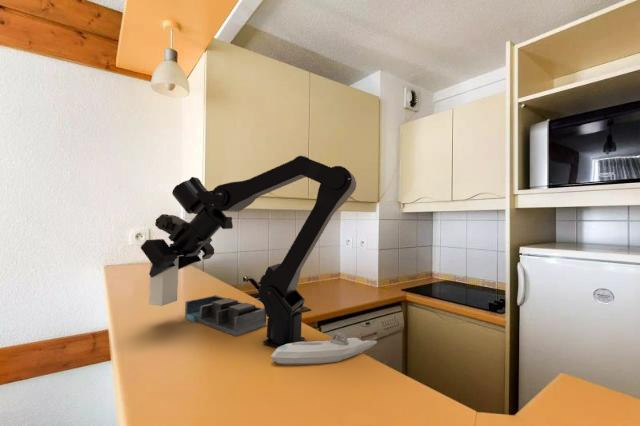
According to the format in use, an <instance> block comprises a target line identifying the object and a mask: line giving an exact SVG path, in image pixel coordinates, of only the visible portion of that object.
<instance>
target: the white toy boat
mask: <svg viewBox="0 0 640 426" xmlns="http://www.w3.org/2000/svg"><path fill="white" fill-rule="evenodd" d="M337 336H340V337H342V338H337ZM377 343H378V341H377V340H361V339H360V338H358V337H346V335H345V334H344V333H343V332H336V333H334V334H333V335H332V338H331V339H330V340H317V341H315V340H312V341H303V342H295V343H289V344H285V345H283V346H280V347H276V349H275V350H274V351H273V352H272V354H271V355H270V357H271V358H272V360H273V362H275V363H277V364H280V365H284V366H286V365H287V366H288V365H319V364H329V363H337V362H341V361H343V360H346V359H349V358H352V357H354V356H358V355H360V354H361V353H363V352H366V351H367V350H369V349H371V348H373V347H374V346H375V345H376V344H377ZM359 352H360V353H359Z"/></svg>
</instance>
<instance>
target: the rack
mask: <svg viewBox="0 0 640 426" xmlns="http://www.w3.org/2000/svg"><path fill="white" fill-rule="evenodd" d="M184 307H185V309H184V310H185V311H184V318H186V320H187V321H190V322H191V323H198V324H202V325H205V326H208V327H210V328H212V329H216V330H218V331H221V332H223V333H226V334H228V335H230V336H231V335H232V336H234V337H238V336H241V335H243V334H246V333H250V332H253V331H256V330H258V329H261V328H264V327H267V315H266V311H265V308H264V307H260V306H256V305H255V304H252V303H249V302H242V301H239V300H238V299H234V298H231V297H228V298H227V297H223V296H219V295H216V294H214V295H211V296H205V297H200V298H196V299H191V300H185V306H184Z"/></svg>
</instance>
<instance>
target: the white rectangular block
mask: <svg viewBox="0 0 640 426" xmlns="http://www.w3.org/2000/svg"><path fill="white" fill-rule="evenodd" d="M173 263H174V264H175V266H174V267H172V268H170V269H168V270H166V271H164V272H162V273H160V274H158V275H156V276H154V277H151V276H150V275H149V292H148V294H149V296H148V305H150V306H159V307H163V306H166V305H168V304H172V303H175V302H178V293H179V292H178V291H179V290H178V288H179V287H178V286H179V283H178V282H179V270H178V263H179V256H178V257H177V259H176V260H175V261H174V262H173ZM149 264H150V265H149V266H150V267H149V271H150V270H151V267H152V263H151V262H150V263H149Z"/></svg>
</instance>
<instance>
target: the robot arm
mask: <svg viewBox="0 0 640 426" xmlns="http://www.w3.org/2000/svg"><path fill="white" fill-rule="evenodd" d="M305 178H308V179H310V180H311V181H315V182H317V183H319V187H318V189H317V193H316V200H315V204H314V206H313V208H312V209H311V211H310V213H309V215H308V216H307V217H306V220H305V222H304V223H303V225H302V226H301V229H300V230H299V232H298V234H297V236H296V237H295V239H294V241H293V243H292V244H291V246H290V248H289V249H288V251H287V253H286V255H285V257H284V258H283V260H282V262H281V263H276V264H274V265H271V266H268V267H267V269H266V271H265V272H264V275H263V277H262V279H261V280H260V281H259V282H258V283H257V284H258V285H260V286H259V288H258V291H257V293H258V294H257V295H258V297H259V300H260V302H261V303H262V305H263V308H265V311H266V339H264V340H263V345H268V346H270V347H275V348H278V347H280V346H283V345H285V344H289V343H295V342H305V340H306V337H305V336H302V321H303V320H302V318H303V316H302V314H303V313H302V312H300V310H302V308H303V307H304V304H305V302H306V301H305V298H304V297H303V296H302V294H300V292H299V291H298V290H297V288H298V284H299V282H300V275H301V271H302V269H303V267H304V265H305V263H306V261H307V260H308V258H309V257H310V255H311V253H312V251H313V250H314V248H315V246H316V245H317V243H318V242H319V239H320V237H321V236H322V234H323V233H324V231H325V229H326V227H327V226H328V224H329V222H330V221H331V219H332V218H333V215H334V214H335V213H336V212H337V211H338V210H339V209H340V208H342V206H343V205H344V204H345V203H346V202H347V200H349V198H351V196H352V194H354V192H355V190H356V188H357V181H356V180H357V179H356V177H355V176H354V174H353V173H352V172H351V171H350V170H348V168H346V167H344V166H341V165H335V166H328V165H326V164H324V163H321V162H320V161H319V162H318V161H316V160H313V159H310V158H309V157H307V156H306V155H297V156H296V157H295V158H294V159H292V160H289V161H287V162H285V163H282V164H280V165H278V166H275V167H274V168H271V169H268V170H266V171H264V172H262V173H260V174H258V175H255V176H253V177H251V178H248V179H245V180H239V181H231V182H226V183H223V184H219V185H217V186H215V187H214V189H212V190H207V188H206V187H205V186H204V185H203V183H202V181H201V179H199V177H194V176H191V177H190V178H189V179H187V180H185V181H182V182H180V183H179V184H177V185H175V186H174V188H173V189H172V191H171V194H172V196H173V197H174V199H175V200H176V201H177V202H178V203H179V205H180V206H181V207H182V208H183V209H184V210H185V212H186V213H187V214H189V215H192V214H194V215H195V216H194V217H193V218H192V219H191V220H190V222H189V221H186V220H185V219H183V218H181V217H179V216H178V215H173V214H167V213H166V214H163V213H162V214H161V215H159V216H158V217H156V219H155V223H154V224H155V225H154V226H155V227H156V228H157V229H158V230H161V231H163V232H165V233H166V234H168V235H169V236H168V237H167V238H168V240H169V241H171V242H173V243H169V244H168V243H167V241H165V240H166V239H163V238H157V239H156V238H155V239H153V238H152V239H146V240H145V241H144V242H143V243H142V244H141V245H140V249H141V251H142V252H143V254H144V255H145V257H147V259H148V260H149V261H150V262H151V263H152V267H151V270H150V269H149V273H148V275H149V277H150V276H151V277H154V276H156V275H158V274H160V273H162V272H164V271H166V270H168V269H170V268H172V267H174V266H175V264H174V263H173V262H174V261H175V260H176V259H177V257H178V256H179V263H178V271H179V270H181V269H184V268H187V267H189V266H191V265H194V264H196V263H200V262H201V261H202V260H203V261H204V260H209V259H211V257H213V256H214V255H215V248H214V247H213V245H212V244H211V243H212V242H213V239H212V237H213V236H214V235H215V234H216V233H217V231H219V230H220V228H221V229H222V230H232V229H233V227H234V225H233V217H232V216H227V215H226V213H224V212H229V213H231V212H232V213H233V212H234V213H238V212H239V213H240V212H241V211H243V210H245V209H246V208H247V207H249V206H250V205H252V204H253V203H254V201H256V200H257V199H259V198H260V197H262V196H265V195H266V194H269V193H271V192H273V191H276V190H279V189H281V188H283V187H285V186H288V185H290V184H292V183H294V182H297V181H300V180H301V179H305ZM202 252H203V254H202V256H201V257H200V254H201V253H202ZM201 258H202V259H201Z"/></svg>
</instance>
